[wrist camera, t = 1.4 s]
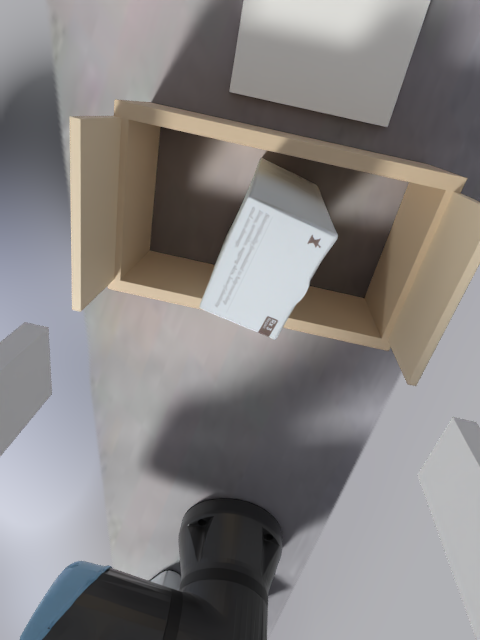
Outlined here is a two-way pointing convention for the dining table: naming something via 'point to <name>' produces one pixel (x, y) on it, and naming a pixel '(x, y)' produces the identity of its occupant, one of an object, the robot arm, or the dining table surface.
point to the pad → (327, 54)
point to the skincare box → (270, 251)
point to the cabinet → (193, 276)
